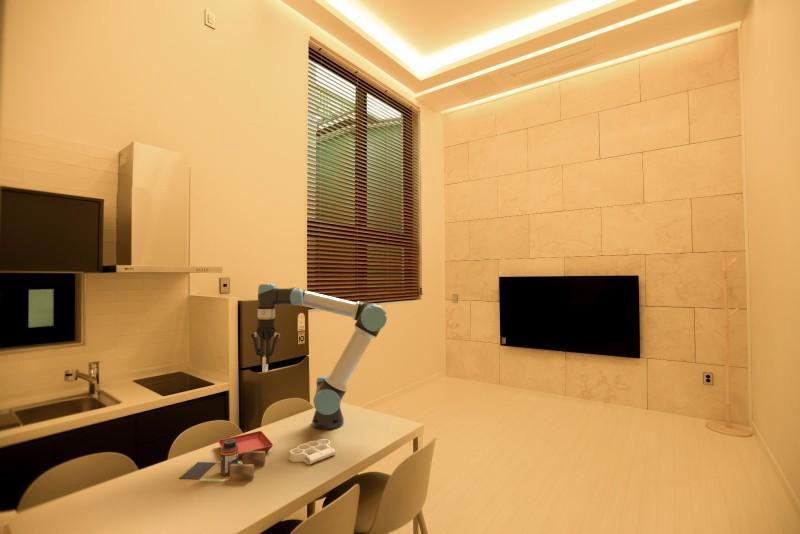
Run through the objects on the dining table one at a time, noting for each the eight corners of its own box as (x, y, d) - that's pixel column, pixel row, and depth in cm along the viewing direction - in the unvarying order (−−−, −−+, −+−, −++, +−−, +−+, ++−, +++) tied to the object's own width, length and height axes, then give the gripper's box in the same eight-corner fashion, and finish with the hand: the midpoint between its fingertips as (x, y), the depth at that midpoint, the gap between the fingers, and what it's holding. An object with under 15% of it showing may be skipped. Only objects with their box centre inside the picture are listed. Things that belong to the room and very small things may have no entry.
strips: (241, 462, 148) (241, 461, 148) (223, 482, 133) (223, 481, 133) (220, 461, 148) (220, 460, 148) (199, 481, 134) (199, 480, 134)
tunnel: (265, 464, 146) (265, 451, 146) (251, 480, 134) (252, 466, 134) (244, 463, 146) (244, 450, 147) (229, 480, 134) (229, 465, 135)
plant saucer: (226, 465, 146) (226, 456, 146) (216, 447, 161) (217, 439, 161) (273, 453, 157) (273, 445, 157) (261, 437, 171) (261, 430, 171)
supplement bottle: (219, 470, 141) (220, 439, 142) (237, 466, 144) (237, 436, 144) (221, 477, 136) (221, 445, 136) (239, 473, 139) (239, 442, 139)
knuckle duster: (303, 469, 143) (283, 457, 153) (341, 454, 156) (320, 443, 166) (303, 460, 143) (283, 448, 154) (341, 446, 156) (321, 435, 166)
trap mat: (215, 463, 147) (215, 462, 147) (198, 479, 135) (198, 478, 135) (197, 462, 147) (197, 461, 147) (179, 478, 135) (179, 478, 135)
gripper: (248, 318, 169) (247, 372, 168) (277, 319, 168) (276, 373, 168) (255, 317, 176) (254, 368, 175) (283, 317, 176) (282, 369, 175)
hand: (264, 371), depth 171 cm, fingers closed
